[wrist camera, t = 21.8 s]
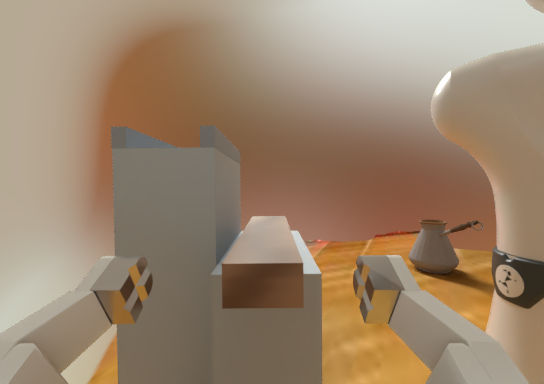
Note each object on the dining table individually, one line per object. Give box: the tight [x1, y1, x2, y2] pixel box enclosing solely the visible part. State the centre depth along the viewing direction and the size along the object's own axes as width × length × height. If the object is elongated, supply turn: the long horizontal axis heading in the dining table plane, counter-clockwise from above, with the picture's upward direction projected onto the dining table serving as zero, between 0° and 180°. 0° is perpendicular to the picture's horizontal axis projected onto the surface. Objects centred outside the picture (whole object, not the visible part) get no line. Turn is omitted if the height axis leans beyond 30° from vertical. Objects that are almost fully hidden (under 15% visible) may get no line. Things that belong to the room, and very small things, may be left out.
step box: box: [111, 126, 322, 384], centre depth 30 cm, size 17×19×28 cm
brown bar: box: [222, 216, 304, 309], centre depth 25 cm, size 4×22×2 cm, turn 0°
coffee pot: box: [409, 220, 483, 274], centre depth 65 cm, size 21×12×15 cm, turn 0°
